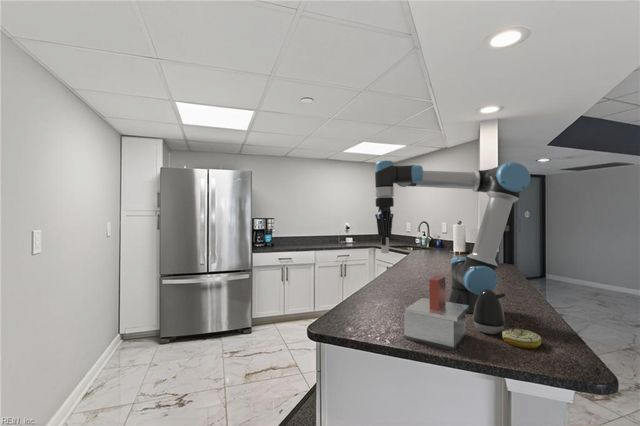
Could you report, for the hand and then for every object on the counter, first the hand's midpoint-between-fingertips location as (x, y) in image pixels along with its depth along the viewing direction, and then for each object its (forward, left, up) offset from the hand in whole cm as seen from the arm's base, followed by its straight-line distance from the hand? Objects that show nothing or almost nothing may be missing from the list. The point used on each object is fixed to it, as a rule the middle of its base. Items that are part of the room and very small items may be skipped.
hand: (385, 252), depth 131 cm
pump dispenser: (-33, +20, -26) cm, 47 cm away
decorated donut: (-38, +30, -27) cm, 55 cm away
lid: (-13, +24, -17) cm, 32 cm away
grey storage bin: (-12, +24, -26) cm, 38 cm away
